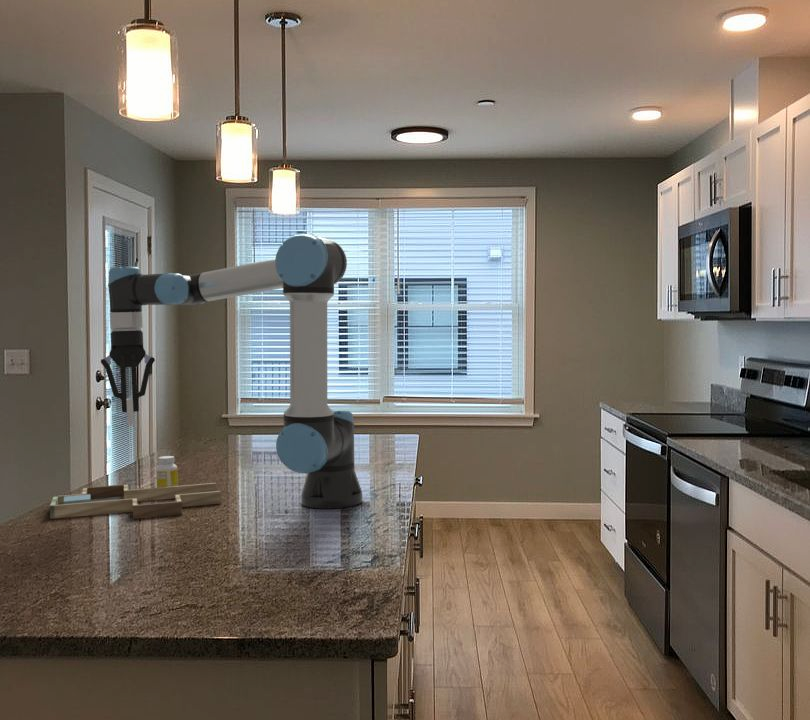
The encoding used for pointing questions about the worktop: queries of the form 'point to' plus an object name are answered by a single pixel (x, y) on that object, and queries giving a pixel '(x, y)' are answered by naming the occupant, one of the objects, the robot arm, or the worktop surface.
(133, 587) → the worktop surface
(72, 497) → the block
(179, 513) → the wooden frame tray
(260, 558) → the worktop surface
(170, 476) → the supplement bottle
